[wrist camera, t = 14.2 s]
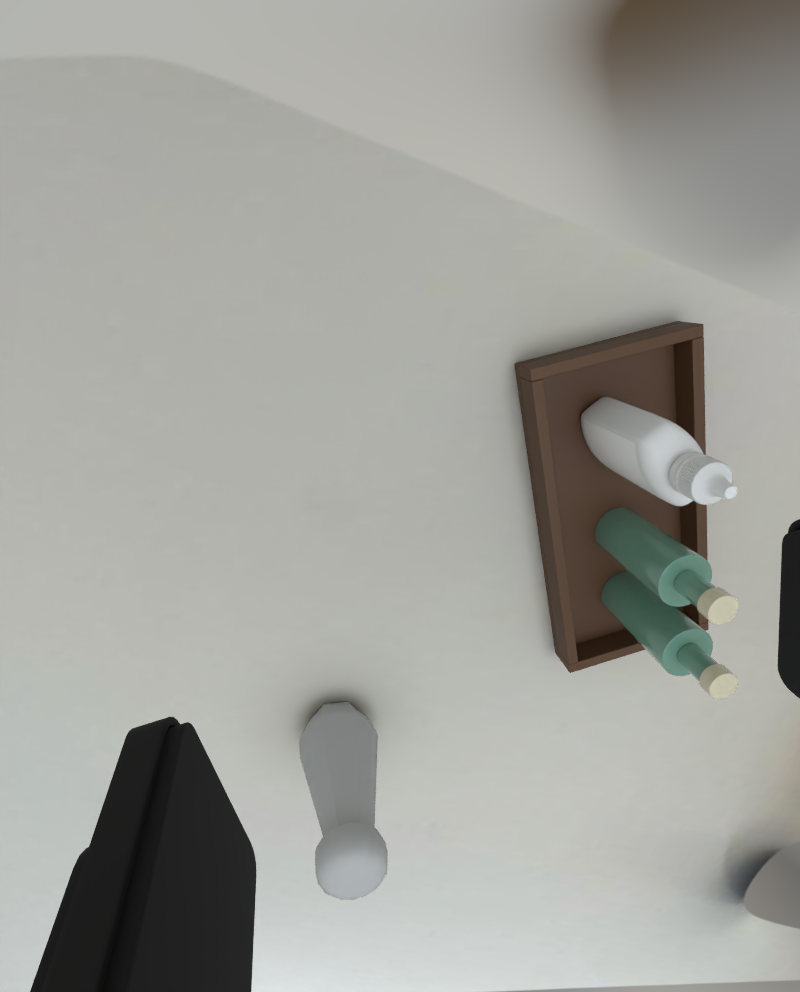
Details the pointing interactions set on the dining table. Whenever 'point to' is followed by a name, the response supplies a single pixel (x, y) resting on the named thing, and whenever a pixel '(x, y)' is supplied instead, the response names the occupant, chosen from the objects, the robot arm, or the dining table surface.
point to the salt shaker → (344, 800)
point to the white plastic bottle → (654, 454)
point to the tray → (604, 472)
